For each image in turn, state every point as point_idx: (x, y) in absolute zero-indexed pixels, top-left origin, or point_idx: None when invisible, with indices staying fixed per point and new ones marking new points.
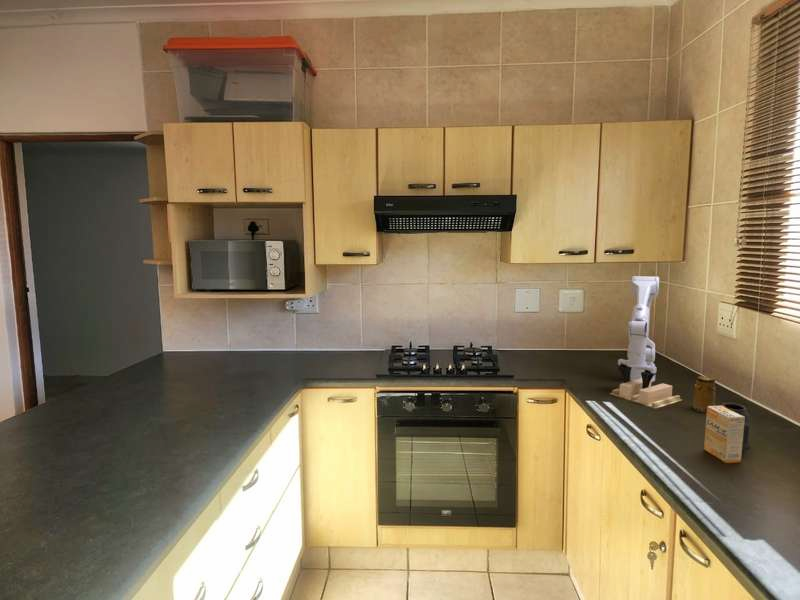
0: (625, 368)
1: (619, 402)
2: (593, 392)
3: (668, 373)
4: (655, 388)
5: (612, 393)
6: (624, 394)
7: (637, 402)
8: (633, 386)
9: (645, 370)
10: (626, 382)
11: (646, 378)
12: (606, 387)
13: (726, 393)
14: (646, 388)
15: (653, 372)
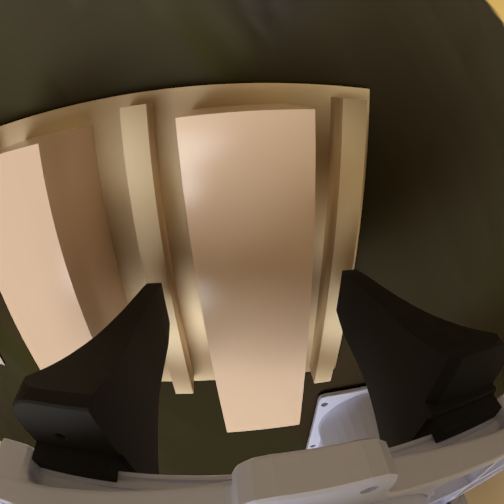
0: (426, 394)
1: (202, 14)
2: (456, 68)
3: None
4: (39, 318)
5: (350, 98)
6: (232, 106)
7: (86, 103)
8: (189, 215)
9: (98, 472)
10: (312, 243)
11: (60, 360)
12: (454, 232)
13: None
14: (51, 253)
15: (4, 450)
